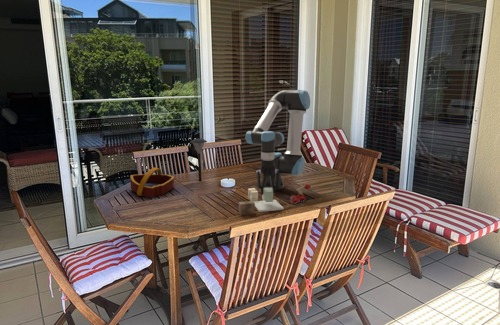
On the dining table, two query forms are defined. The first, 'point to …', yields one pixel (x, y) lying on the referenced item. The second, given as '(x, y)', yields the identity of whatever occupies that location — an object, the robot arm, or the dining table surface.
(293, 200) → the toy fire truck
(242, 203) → the walnut brick
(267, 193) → the sage brick
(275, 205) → the grey plate
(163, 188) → the decorative basket
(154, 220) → the dining table surface
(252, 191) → the birch brick
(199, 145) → the solar garden light
